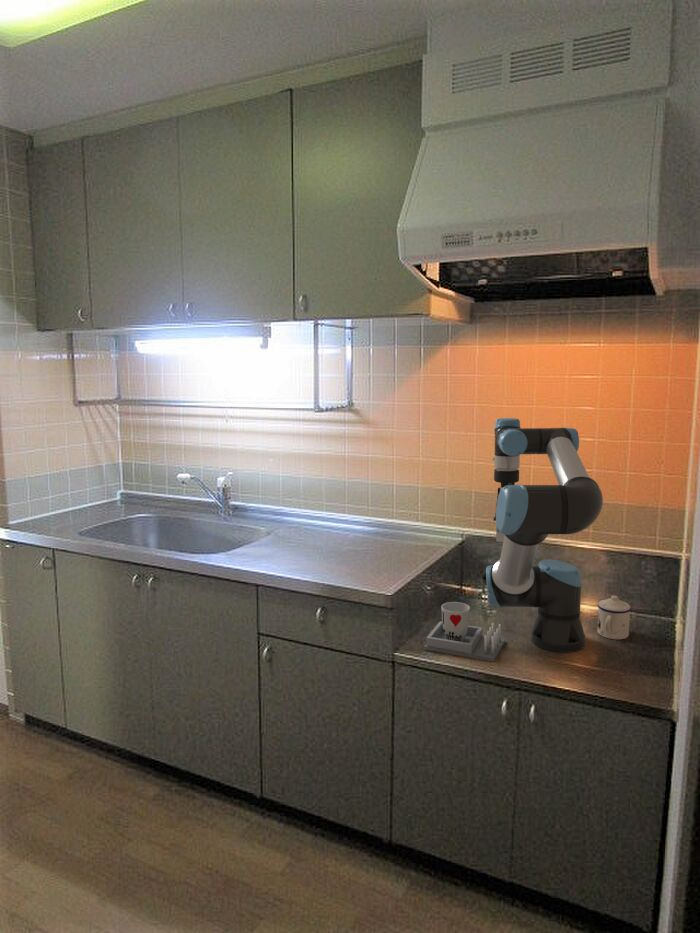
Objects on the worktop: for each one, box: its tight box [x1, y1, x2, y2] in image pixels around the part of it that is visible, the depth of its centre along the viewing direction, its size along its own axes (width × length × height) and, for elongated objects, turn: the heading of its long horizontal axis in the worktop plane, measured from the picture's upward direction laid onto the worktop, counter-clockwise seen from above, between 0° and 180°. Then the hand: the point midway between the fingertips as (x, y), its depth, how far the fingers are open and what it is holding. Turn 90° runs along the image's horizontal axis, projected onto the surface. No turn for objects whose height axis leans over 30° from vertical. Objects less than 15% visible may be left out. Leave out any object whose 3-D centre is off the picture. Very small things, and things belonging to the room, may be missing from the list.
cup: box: [440, 601, 471, 642], centre depth 190 cm, size 8×8×10 cm
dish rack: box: [423, 620, 506, 662], centre depth 189 cm, size 20×14×6 cm
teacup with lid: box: [597, 595, 632, 640], centre depth 193 cm, size 12×9×12 cm
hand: (505, 536), depth 205 cm, fingers open, 13 cm apart
